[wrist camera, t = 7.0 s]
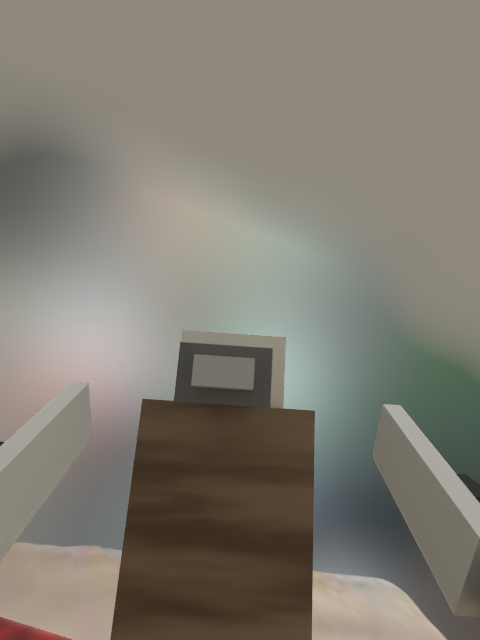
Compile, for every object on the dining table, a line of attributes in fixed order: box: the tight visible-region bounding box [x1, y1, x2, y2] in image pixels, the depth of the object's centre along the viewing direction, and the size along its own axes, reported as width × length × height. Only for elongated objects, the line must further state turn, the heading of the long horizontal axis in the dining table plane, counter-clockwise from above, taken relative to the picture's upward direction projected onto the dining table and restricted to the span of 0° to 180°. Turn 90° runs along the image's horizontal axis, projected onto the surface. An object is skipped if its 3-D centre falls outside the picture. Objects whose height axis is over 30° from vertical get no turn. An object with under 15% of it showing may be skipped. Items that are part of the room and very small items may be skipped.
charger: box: [174, 330, 286, 409], centre depth 26 cm, size 25×9×6 cm, turn 1°
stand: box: [111, 399, 315, 640], centre depth 29 cm, size 10×14×30 cm
